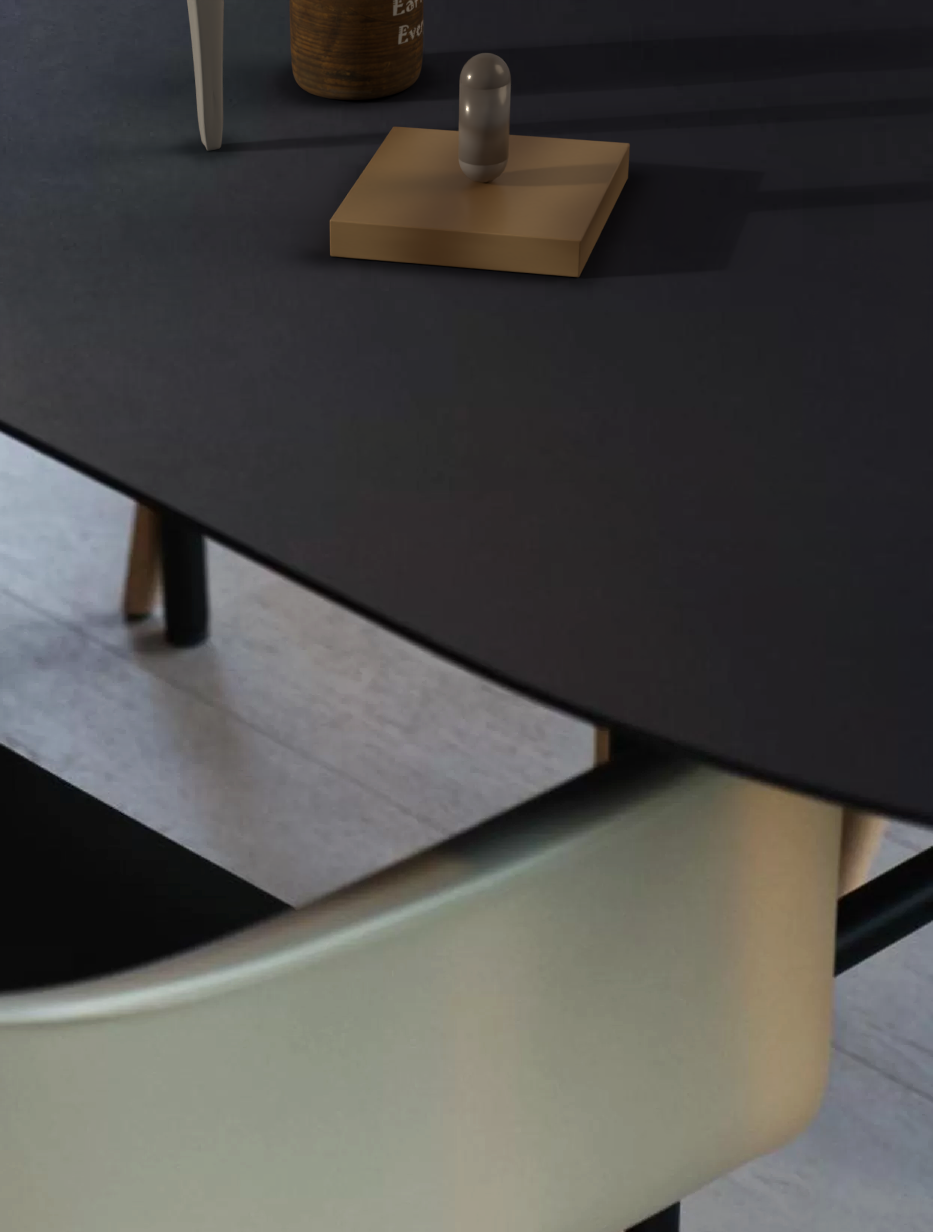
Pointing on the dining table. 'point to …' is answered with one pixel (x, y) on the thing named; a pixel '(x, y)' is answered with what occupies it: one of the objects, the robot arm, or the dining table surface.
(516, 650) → the dining table surface
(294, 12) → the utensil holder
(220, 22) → the pen
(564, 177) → the base pad
